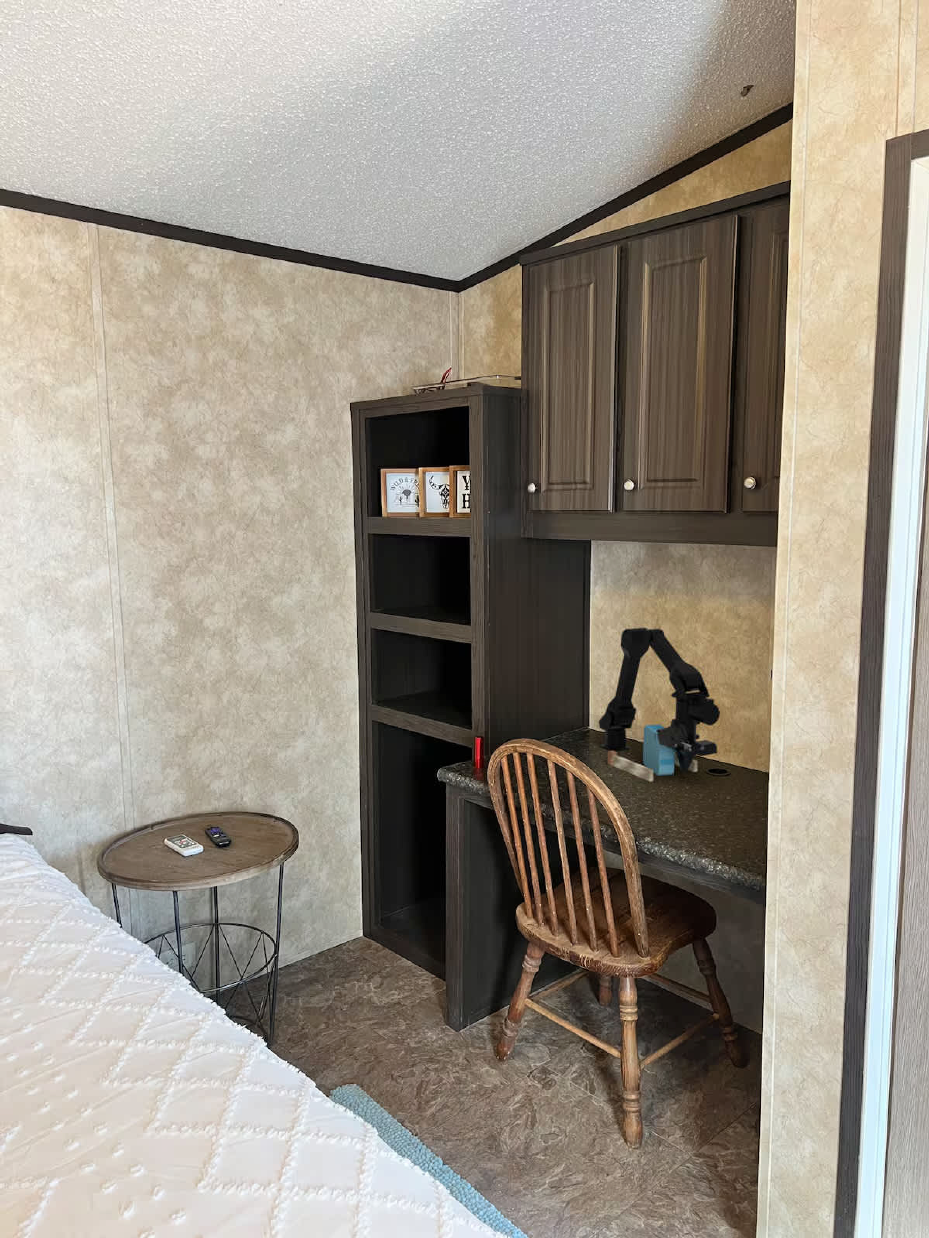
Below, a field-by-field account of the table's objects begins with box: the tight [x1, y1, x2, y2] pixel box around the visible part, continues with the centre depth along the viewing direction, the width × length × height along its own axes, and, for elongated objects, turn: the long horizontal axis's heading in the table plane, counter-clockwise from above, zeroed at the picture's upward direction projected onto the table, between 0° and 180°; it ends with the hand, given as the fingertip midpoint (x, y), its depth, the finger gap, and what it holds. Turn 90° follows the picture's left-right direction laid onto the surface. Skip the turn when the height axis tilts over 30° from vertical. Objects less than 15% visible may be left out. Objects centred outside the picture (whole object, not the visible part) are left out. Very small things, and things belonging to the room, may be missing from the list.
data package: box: [642, 724, 675, 776], centre depth 261 cm, size 12×4×12 cm, turn 11°
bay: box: [607, 750, 699, 782], centre depth 264 cm, size 18×18×4 cm
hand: (684, 771), depth 253 cm, fingers closed
